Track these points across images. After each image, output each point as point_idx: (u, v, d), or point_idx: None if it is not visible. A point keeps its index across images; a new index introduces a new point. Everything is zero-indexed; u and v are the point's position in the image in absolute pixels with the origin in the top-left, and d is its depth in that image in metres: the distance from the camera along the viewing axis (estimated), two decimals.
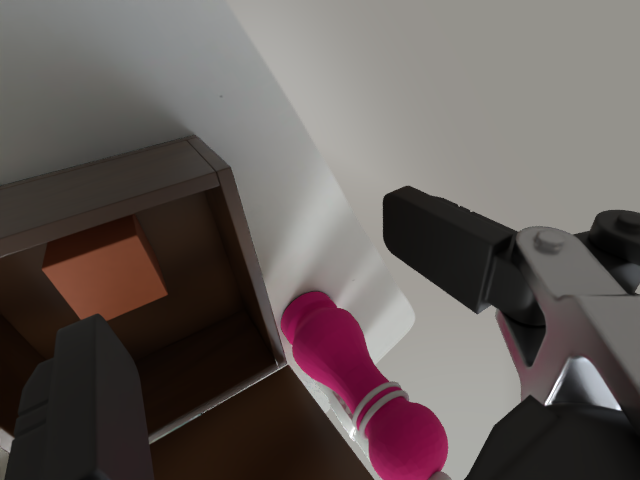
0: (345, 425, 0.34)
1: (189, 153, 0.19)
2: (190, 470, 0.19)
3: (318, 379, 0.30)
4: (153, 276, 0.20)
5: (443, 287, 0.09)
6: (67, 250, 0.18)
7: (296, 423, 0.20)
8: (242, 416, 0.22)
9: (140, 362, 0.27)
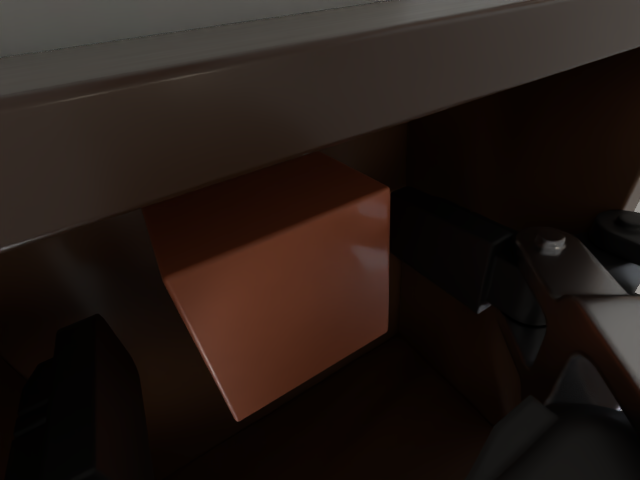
0: None
1: None
2: None
3: None
4: (382, 293, 0.08)
5: (443, 287, 0.09)
6: (214, 224, 0.06)
7: None
8: None
9: (252, 431, 0.16)
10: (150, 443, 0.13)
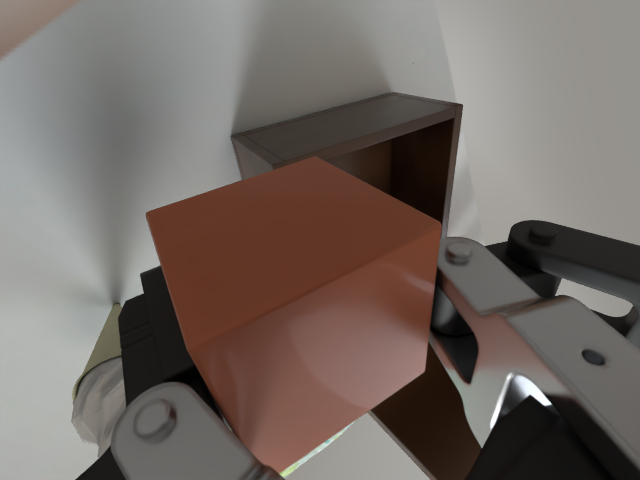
0: None
1: (411, 100, 0.27)
2: None
3: None
4: (423, 334, 0.07)
5: None
6: (241, 269, 0.05)
7: None
8: None
9: None
10: None
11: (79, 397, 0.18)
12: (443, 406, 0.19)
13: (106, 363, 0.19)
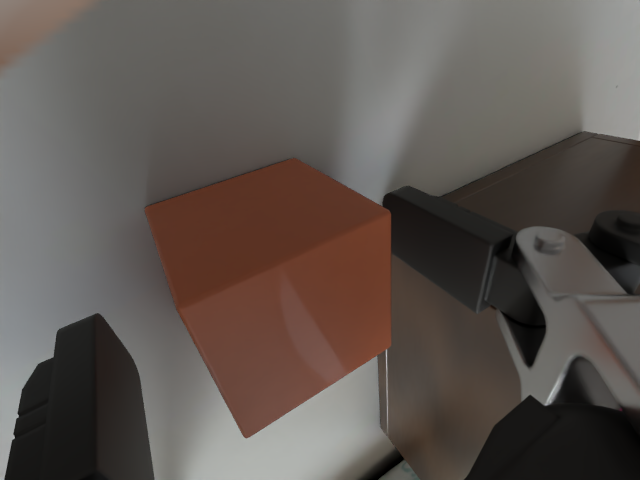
0: None
1: None
2: None
3: None
4: (385, 310, 0.09)
5: (443, 287, 0.09)
6: (223, 250, 0.07)
7: None
8: None
9: None
10: None
11: None
12: None
13: None
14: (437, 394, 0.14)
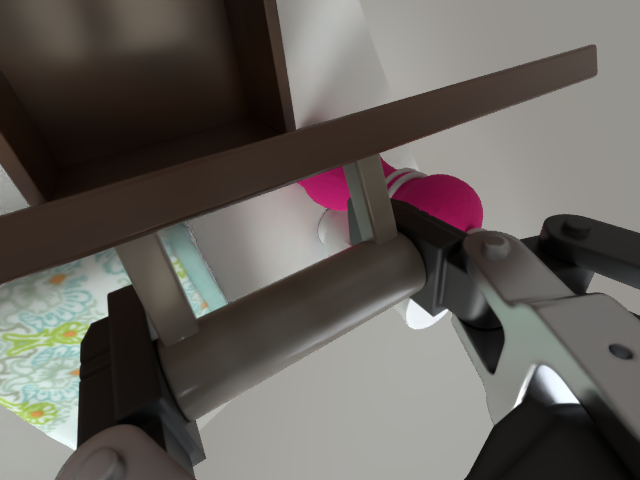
0: None
1: None
2: None
3: (331, 194, 0.27)
4: None
5: None
6: None
7: None
8: None
9: (133, 149, 0.24)
10: (57, 123, 0.22)
11: None
12: None
13: None
14: None
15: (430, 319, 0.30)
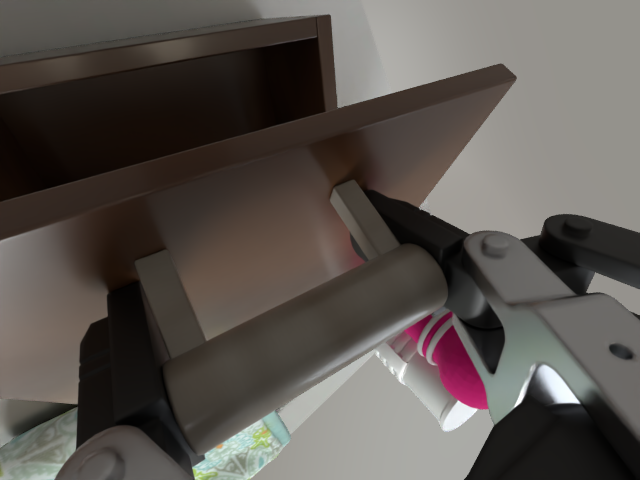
0: (394, 365, 0.33)
1: None
2: None
3: None
4: None
5: None
6: None
7: None
8: None
9: None
10: None
11: None
12: None
13: None
14: None
15: (462, 420, 0.31)
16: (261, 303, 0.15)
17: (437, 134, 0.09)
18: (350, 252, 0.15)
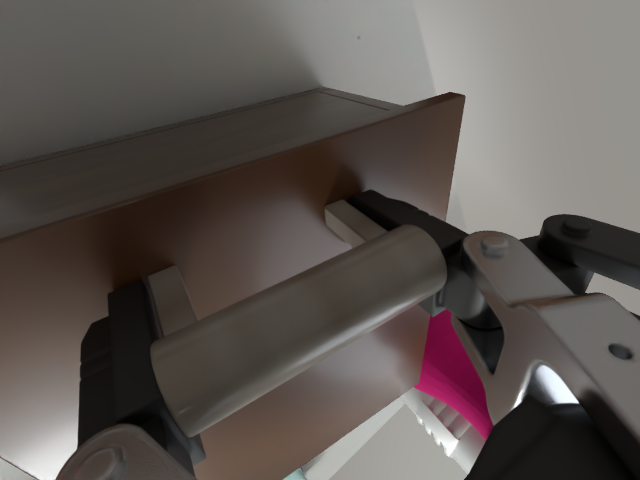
0: (442, 440, 0.30)
1: (343, 102, 0.15)
2: None
3: (426, 389, 0.26)
4: None
5: None
6: None
7: None
8: None
9: None
10: None
11: None
12: None
13: None
14: None
15: None
16: (298, 378, 0.14)
17: (411, 153, 0.11)
18: None
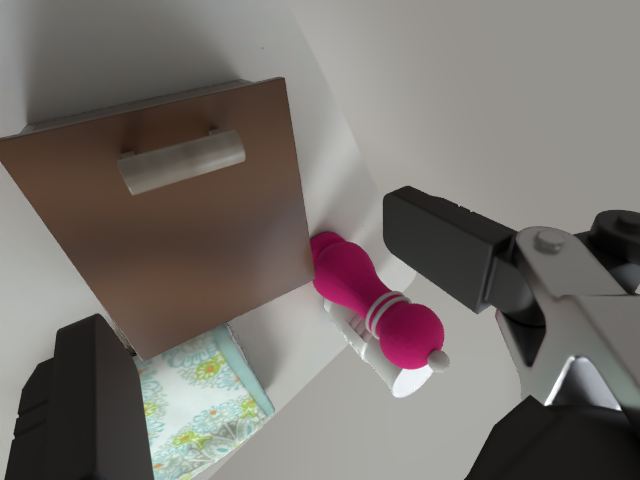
0: (357, 345, 0.40)
1: None
2: None
3: (335, 298, 0.36)
4: None
5: (443, 287, 0.09)
6: None
7: None
8: None
9: None
10: None
11: None
12: None
13: None
14: None
15: (412, 389, 0.38)
16: (212, 241, 0.24)
17: (257, 107, 0.21)
18: (265, 206, 0.25)
